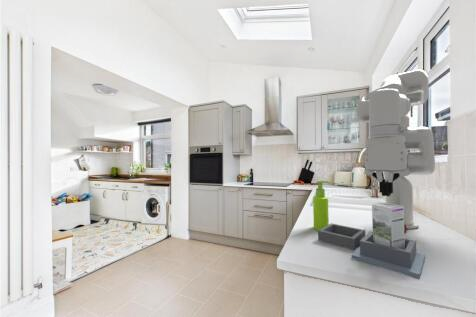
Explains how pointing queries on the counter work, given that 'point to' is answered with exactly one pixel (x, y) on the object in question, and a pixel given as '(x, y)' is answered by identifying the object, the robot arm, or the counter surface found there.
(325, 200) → the soap dispenser
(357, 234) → the grey square tray
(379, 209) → the syrup box
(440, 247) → the counter surface
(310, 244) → the counter surface
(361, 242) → the frame
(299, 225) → the counter surface
